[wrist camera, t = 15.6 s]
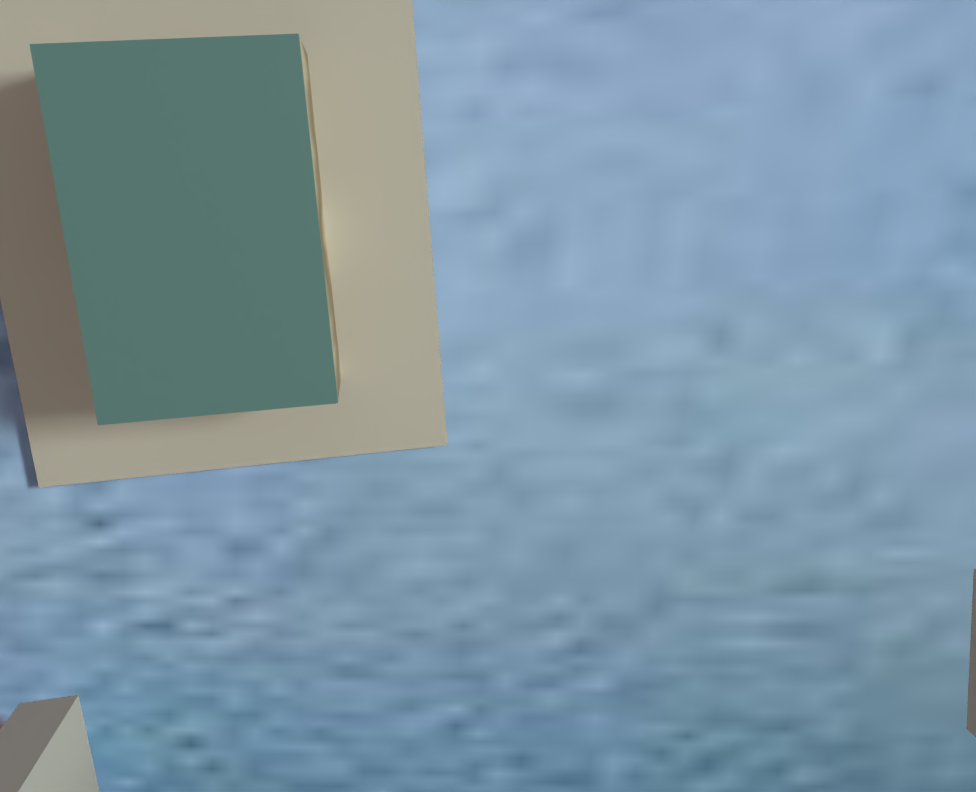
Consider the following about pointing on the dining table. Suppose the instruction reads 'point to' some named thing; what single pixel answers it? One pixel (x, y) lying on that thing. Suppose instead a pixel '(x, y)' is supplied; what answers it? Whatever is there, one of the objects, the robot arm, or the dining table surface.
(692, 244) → the dining table surface
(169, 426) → the mat
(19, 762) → the robot arm
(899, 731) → the dining table surface
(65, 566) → the dining table surface
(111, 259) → the green and tan block
